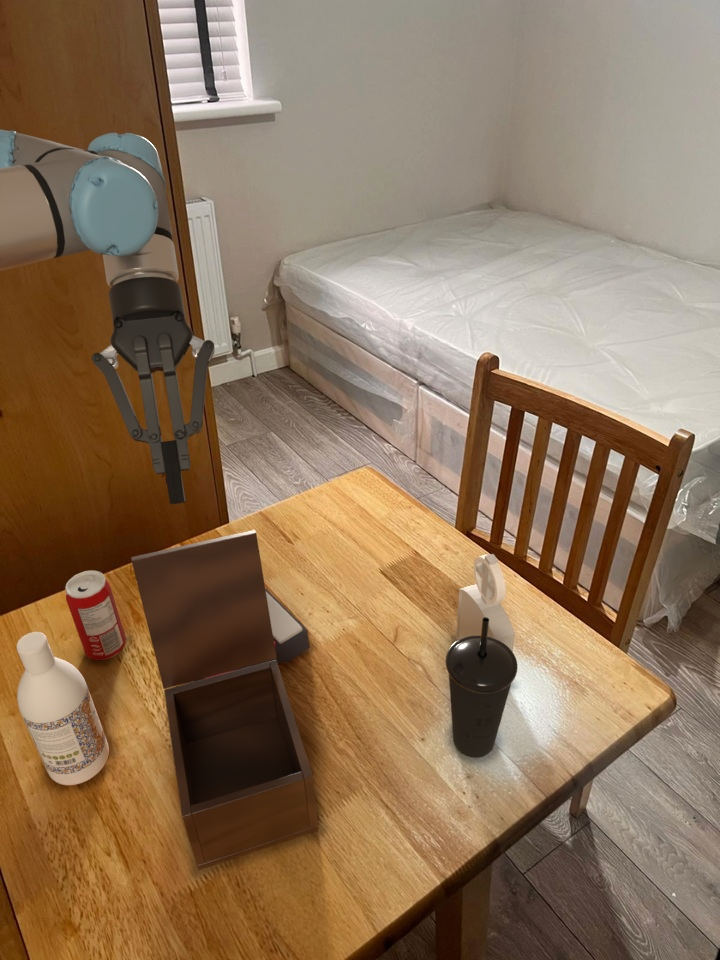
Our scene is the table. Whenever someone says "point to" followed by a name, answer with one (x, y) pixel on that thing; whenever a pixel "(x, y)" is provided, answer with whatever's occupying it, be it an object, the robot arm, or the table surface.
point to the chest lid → (205, 607)
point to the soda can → (95, 615)
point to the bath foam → (59, 713)
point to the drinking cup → (478, 690)
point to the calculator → (283, 633)
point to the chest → (239, 764)
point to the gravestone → (485, 603)
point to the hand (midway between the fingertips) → (177, 502)
